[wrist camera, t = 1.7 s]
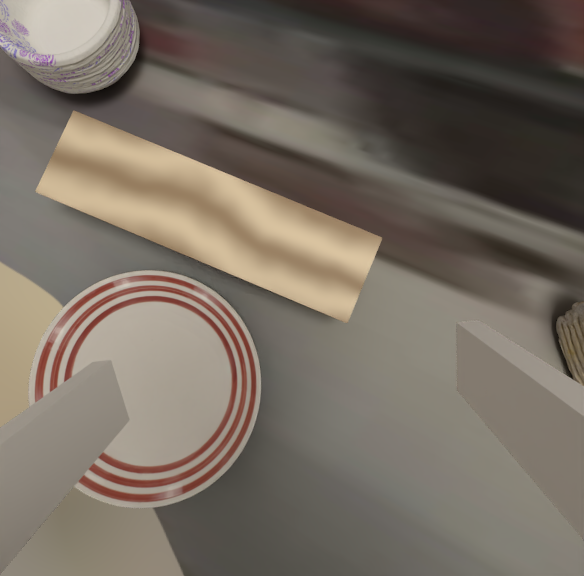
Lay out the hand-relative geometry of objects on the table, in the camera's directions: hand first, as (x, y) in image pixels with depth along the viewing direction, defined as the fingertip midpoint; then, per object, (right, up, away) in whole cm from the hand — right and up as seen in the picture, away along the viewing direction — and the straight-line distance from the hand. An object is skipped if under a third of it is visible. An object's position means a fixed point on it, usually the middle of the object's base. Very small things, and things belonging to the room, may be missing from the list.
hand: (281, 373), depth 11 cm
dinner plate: (-17, -8, +27) cm, 33 cm away
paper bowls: (-26, +34, +29) cm, 52 cm away
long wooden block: (-9, +11, +28) cm, 31 cm away
